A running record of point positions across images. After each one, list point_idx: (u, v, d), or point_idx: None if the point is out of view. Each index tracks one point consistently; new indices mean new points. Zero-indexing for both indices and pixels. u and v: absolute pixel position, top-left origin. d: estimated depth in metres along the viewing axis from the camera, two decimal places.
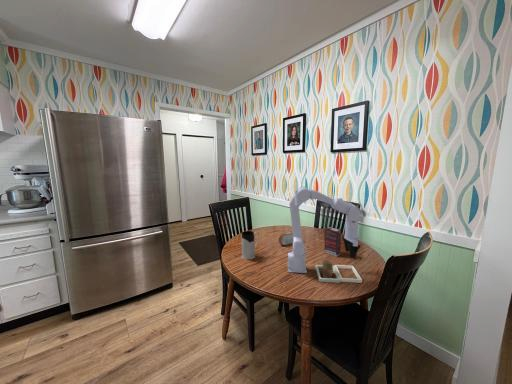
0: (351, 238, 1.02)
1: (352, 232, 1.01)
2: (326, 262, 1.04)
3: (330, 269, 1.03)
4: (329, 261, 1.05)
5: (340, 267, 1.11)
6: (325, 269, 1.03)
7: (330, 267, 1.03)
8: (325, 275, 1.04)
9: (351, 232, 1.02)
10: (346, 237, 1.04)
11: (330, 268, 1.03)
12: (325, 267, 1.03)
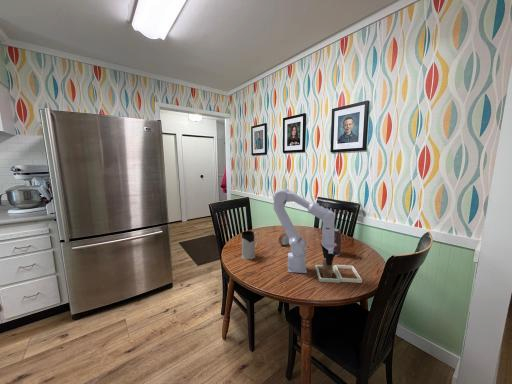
0: (327, 245, 1.01)
1: (328, 239, 1.00)
2: None
3: (330, 269, 1.03)
4: None
5: (340, 267, 1.11)
6: (325, 269, 1.03)
7: (330, 267, 1.03)
8: (325, 275, 1.04)
9: (328, 239, 1.00)
10: (323, 244, 1.02)
11: (330, 268, 1.03)
12: (325, 267, 1.03)
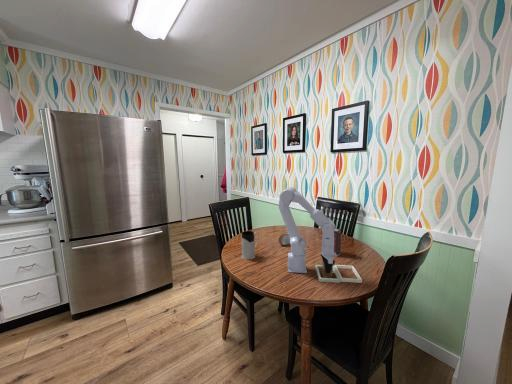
0: (327, 255, 1.01)
1: (328, 249, 1.01)
2: None
3: None
4: None
5: (340, 267, 1.11)
6: None
7: None
8: (325, 275, 1.04)
9: (327, 249, 1.01)
10: (322, 253, 1.03)
11: None
12: None
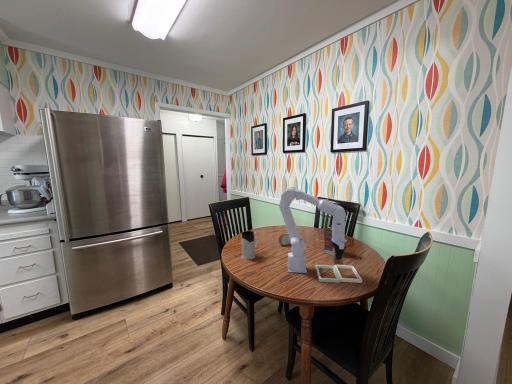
0: (338, 241, 1.00)
1: (339, 234, 1.00)
2: None
3: None
4: None
5: (340, 267, 1.11)
6: None
7: None
8: (335, 262, 1.03)
9: (338, 234, 1.00)
10: (333, 240, 1.02)
11: None
12: None
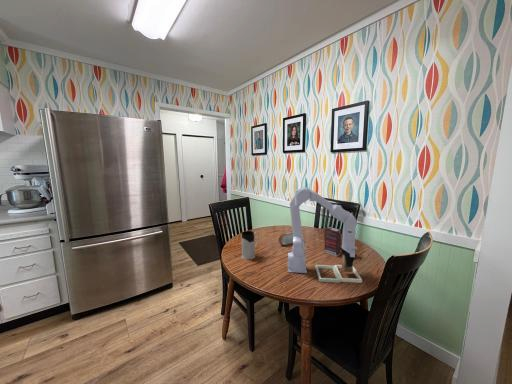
0: (348, 248, 1.00)
1: (349, 242, 1.00)
2: None
3: None
4: None
5: (340, 267, 1.11)
6: None
7: None
8: (345, 270, 1.03)
9: (349, 242, 1.00)
10: (343, 247, 1.02)
11: None
12: None
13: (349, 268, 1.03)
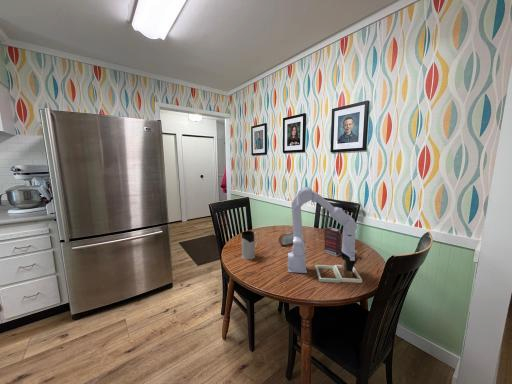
0: (348, 252, 1.01)
1: (349, 246, 1.00)
2: None
3: None
4: None
5: (340, 267, 1.11)
6: (345, 269, 1.03)
7: None
8: (345, 275, 1.03)
9: (349, 246, 1.00)
10: (343, 250, 1.02)
11: None
12: (345, 267, 1.03)
13: (349, 273, 1.03)
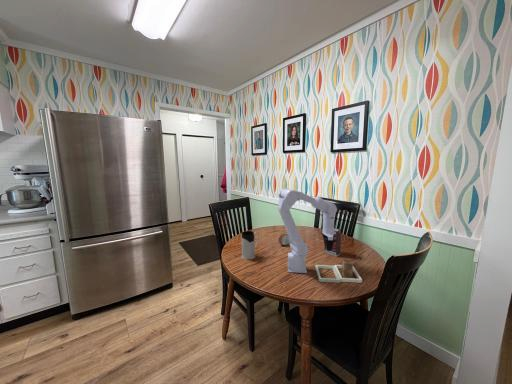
0: (328, 233, 1.11)
1: (328, 227, 1.11)
2: (346, 262, 1.03)
3: (350, 269, 1.02)
4: (349, 261, 1.04)
5: (340, 267, 1.11)
6: (345, 269, 1.03)
7: (351, 267, 1.02)
8: (345, 275, 1.03)
9: (328, 227, 1.11)
10: (323, 232, 1.13)
11: (350, 268, 1.02)
12: (345, 267, 1.03)
13: (349, 273, 1.03)
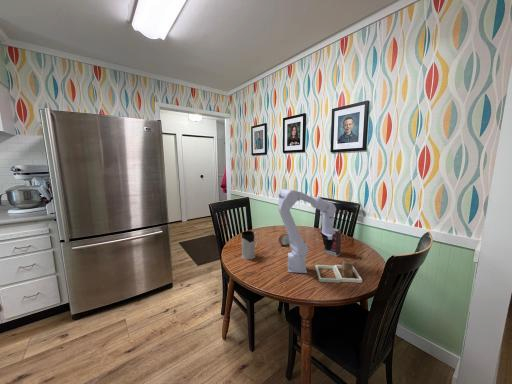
0: (327, 232, 1.12)
1: (328, 227, 1.11)
2: (346, 262, 1.03)
3: (350, 269, 1.02)
4: (349, 261, 1.04)
5: (340, 267, 1.11)
6: (345, 269, 1.03)
7: (351, 267, 1.02)
8: (345, 275, 1.03)
9: (327, 227, 1.11)
10: (323, 232, 1.14)
11: (350, 268, 1.02)
12: (345, 267, 1.03)
13: (349, 273, 1.03)
